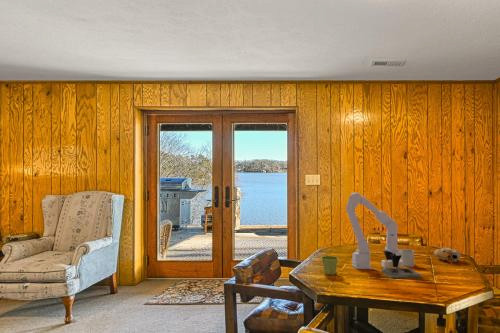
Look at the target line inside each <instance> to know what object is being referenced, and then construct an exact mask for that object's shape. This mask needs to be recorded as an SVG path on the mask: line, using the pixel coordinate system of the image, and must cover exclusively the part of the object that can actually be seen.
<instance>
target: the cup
mask: <svg viewBox="0 0 500 333" xmlns="http://www.w3.org/2000/svg"><path fill="white" fill-rule="evenodd" d="M399 252H400V255H401V256H402V257H401V258H400V260H402V261H403V267H406V266H407V267H406V268H412V267H414V266H415V250H413V249H409V248H402V249H400V251H399Z"/></svg>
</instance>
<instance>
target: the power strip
mask: <svg viewBox="0 0 500 333" xmlns="http://www.w3.org/2000/svg"><path fill="white" fill-rule="evenodd" d="M381 267H383V269H390V268H394V267H393V261H392V260H386V259H381ZM403 267H404V266H403V261H402V260H401V259H400V260H399V263H398V267H395V268H403Z"/></svg>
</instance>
